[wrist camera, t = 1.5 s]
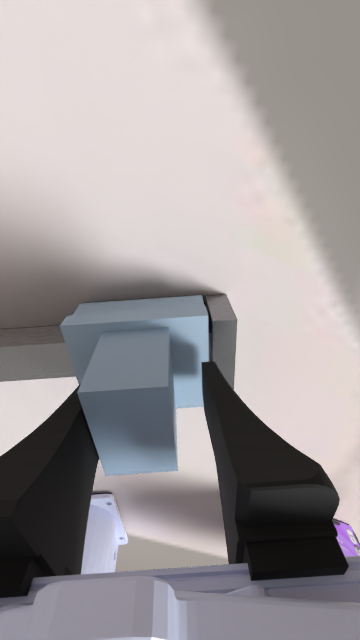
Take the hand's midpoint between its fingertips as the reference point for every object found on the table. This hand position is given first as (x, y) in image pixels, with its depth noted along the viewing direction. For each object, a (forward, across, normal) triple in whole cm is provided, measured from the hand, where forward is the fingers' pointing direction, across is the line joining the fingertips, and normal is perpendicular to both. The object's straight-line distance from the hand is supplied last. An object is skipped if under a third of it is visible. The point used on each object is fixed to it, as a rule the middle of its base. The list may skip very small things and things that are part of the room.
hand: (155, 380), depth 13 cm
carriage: (+4, +1, 0) cm, 4 cm away
